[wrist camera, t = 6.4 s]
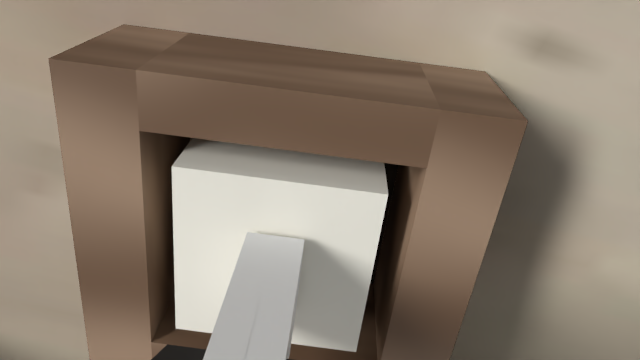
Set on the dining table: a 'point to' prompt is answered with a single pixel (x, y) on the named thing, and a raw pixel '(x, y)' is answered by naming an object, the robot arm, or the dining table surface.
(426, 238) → the wooden compartment tray
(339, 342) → the key ivory
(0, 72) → the dining table surface
